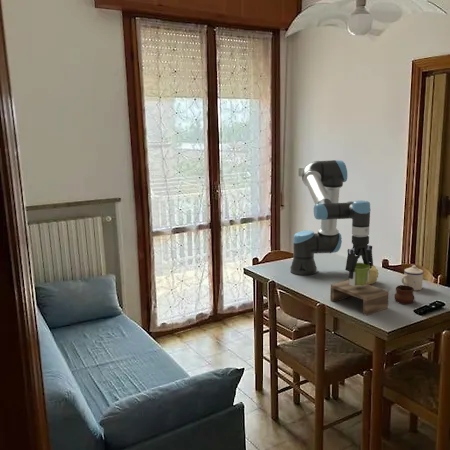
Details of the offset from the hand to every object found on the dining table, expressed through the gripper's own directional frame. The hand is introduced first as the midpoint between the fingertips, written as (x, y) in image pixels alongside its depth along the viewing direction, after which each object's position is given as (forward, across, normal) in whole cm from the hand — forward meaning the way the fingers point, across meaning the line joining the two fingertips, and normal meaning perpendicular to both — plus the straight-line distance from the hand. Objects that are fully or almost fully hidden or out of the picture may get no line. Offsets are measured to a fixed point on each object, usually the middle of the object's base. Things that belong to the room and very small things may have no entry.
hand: (358, 283), depth 209 cm
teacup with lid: (+10, +38, 0) cm, 39 cm away
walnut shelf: (+10, 0, 0) cm, 10 cm away
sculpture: (+11, +27, +19) cm, 35 cm away
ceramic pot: (+11, +20, -10) cm, 25 cm away
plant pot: (0, 0, 0) cm, 0 cm away
